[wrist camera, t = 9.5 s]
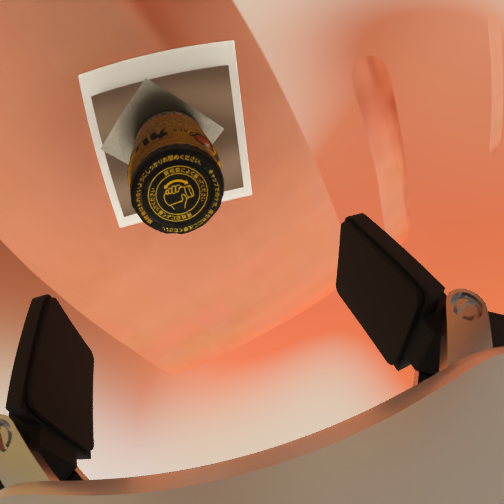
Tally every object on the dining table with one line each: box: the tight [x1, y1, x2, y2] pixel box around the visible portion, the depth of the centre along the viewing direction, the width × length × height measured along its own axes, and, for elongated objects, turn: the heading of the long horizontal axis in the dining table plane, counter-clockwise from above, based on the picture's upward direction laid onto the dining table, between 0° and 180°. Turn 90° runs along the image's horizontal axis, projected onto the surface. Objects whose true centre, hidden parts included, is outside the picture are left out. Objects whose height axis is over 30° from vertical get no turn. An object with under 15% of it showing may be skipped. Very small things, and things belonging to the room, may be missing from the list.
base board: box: [78, 40, 252, 228], centre depth 28 cm, size 17×15×1 cm
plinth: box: [91, 65, 244, 217], centre depth 27 cm, size 12×12×3 cm
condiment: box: [101, 78, 224, 234], centre depth 20 cm, size 7×8×12 cm
